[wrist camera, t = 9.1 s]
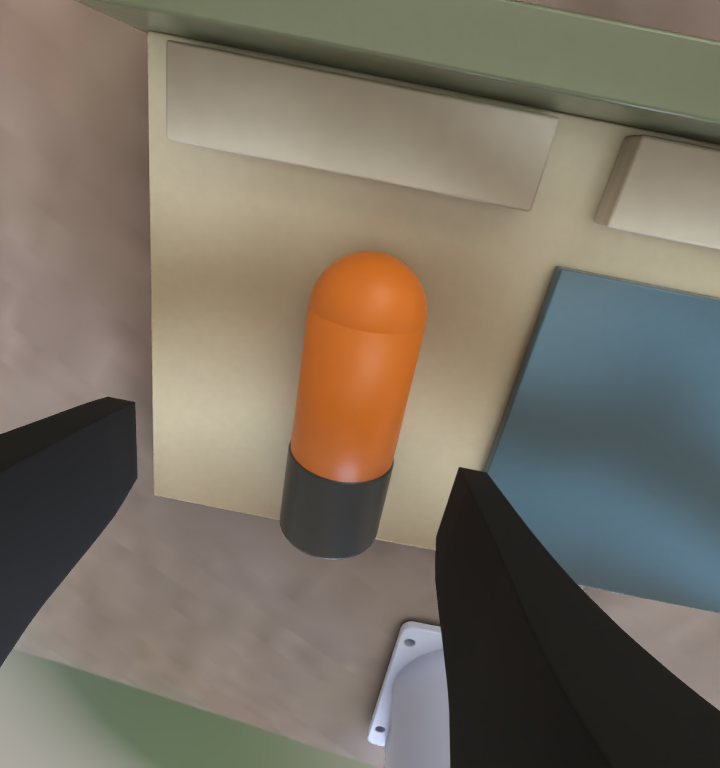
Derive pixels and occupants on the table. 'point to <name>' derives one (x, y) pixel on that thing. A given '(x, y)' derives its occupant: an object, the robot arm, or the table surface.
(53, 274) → the table surface
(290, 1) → the bed
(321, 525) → the orange capsule container
